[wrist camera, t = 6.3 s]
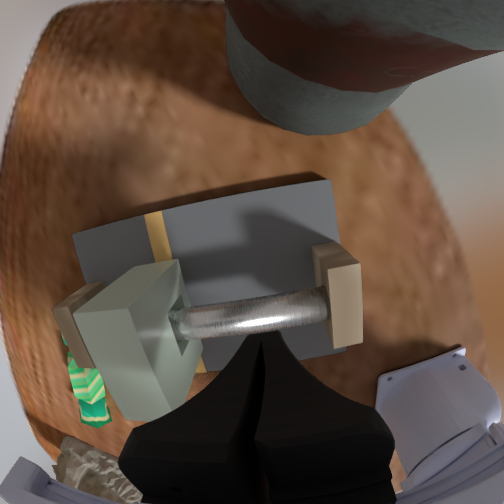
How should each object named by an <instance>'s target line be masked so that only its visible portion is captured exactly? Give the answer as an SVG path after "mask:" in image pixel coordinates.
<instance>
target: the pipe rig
mask: <svg viewBox="0 0 504 504" xmlns="http://www.w3.org/2000/svg"><path fill="white" fill-rule="evenodd" d="M72 238H73V241H74V245H75V249H76V253H77V256H78V260H79V263H80V267H81V270H82V273H83V277H84V280H85V283H86V285H85V286H83V287H82V288H80V289H79V290H77V291H76V292H74V293H73V294H71V295H70V296H68V297H67V298H66V299H64V300H63V301H61V302H60V303H58V304H57V305H56V306H54V307H53V308H51V309H52V311H53V314H54V316H55V319H56V321H57V324H58V326H59V328H60V331H61V333H62V335H63V338H64V340H65V342H66V344H67V346H68V348H69V350H70V353H71V355H72V357H73V359H74V361H75V363H76V365H77V367H78V368H91V369H95V368H96V366H95V364H94V362H93V360H92V358H91V356H90V354H89V351H88V349H87V347H86V345H85V343H84V340H83V338H82V336H81V334H80V331H79V329H78V326H77V324H76V322H75V319H74V317H73V313H74V312H75V311H76V310H78V309H79V308H80V307H81V306H83V305H84V304H85V303H87V302H88V301H89V300H90V299H92V298H93V297H94V296H96V295H97V294H98V293H99V292H101V291H102V290H103V289H105V288H106V287H107V286H109V285H110V284H111V283H113V282H114V281H115V280H117V279H118V278H119V277H121V276H122V275H123V274H125V273H126V272H127V271H129V270H130V269H132V268H133V267H134V266H140V265H145V264H151V263H157V262H162V261H168V260H173V259H178V261H179V265H180V269H181V273H182V276H183V280H184V284H185V288H186V291H187V295H188V298H189V302H190V305H191V307H183V308H175V309H170V310H169V312H168V313H167V315H168V318H169V321H170V324H171V327H172V330H173V333H174V336H175V339H176V341H184V340H195V339H201V342H202V345H203V351H202V354H201V357H200V360H199V363H198V366H197V369H196V372H195V373H204V372H207V371H220V370H223V369H224V367H225V366H226V365H227V364H228V362H229V361H230V360H231V358H232V357H233V356H234V354H235V353H236V351H237V350H238V349H239V347H240V346H241V344H242V342H243V341H244V339H245V338H246V336H247V335H248V334H256V333H263V332H270V331H276V330H279V331H280V332H281V333H282V337H283V339H284V341H285V343H286V344H287V346H288V348H289V349H290V350H291V352H292V353H293V354H294V356H295V357H296V358H297V360H298V361H299V360H305V359H310V358H316V357H321V356H326V355H331V354H336V353H341V352H345V351H347V346H350V345H354V344H359V343H363V306H362V282H361V266H360V262H359V261H357V260H356V259H355V258H354V257H353V256H352V255H351V254H350V253H349V252H347V251H346V250H345V249H344V248H343V247H342V246H341V245H340V242H339V234H338V225H337V218H336V210H335V203H334V196H333V190H332V183H331V179H325V180H318V181H311V182H304V183H298V184H291V185H285V186H279V187H273V188H267V189H262V190H256V191H251V192H245V193H240V194H235V195H230V196H224V197H219V198H215V199H210V200H205V201H200V202H195V203H191V204H186V205H182V206H177V207H173V208H169V209H164V210H160V211H156V212H152V213H148V214H144V215H140V216H136V217H132V218H128V219H124V220H120V221H116V222H113V223H109V224H105V225H102V226H98V227H94V228H91V229H87V230H84V231H81V232H77V233H75V234H72Z"/></svg>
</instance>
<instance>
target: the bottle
mask: <svg viewBox="0 0 504 504" xmlns="http://www.w3.org/2000/svg"><path fill="white" fill-rule="evenodd" d="M224 1H225V3H226V49H227V59H228V68H229V70H230V72H231V74H232V76H233V78H234V80H235V82H236V84H237V86H238V88H239V90H240V92H241V93H242V94H243V96H244V97H245V98H246V100H247V101H248V102H249V103H250V104H251V105H252V106H253V107H254V108H255V109H256V110H257V111H258V112H259V114H260V115H261V116H262V117H263V118H265V119H267V120H269V121H270V122H272V123H274V124H276V125H277V126H279V127H281V128H282V129H284V130H288V131H292V132H296V133H300V134H304V135H331V134H338V133H343V132H346V131H349V130H352V129H355V128H358V127H361V126H364V125H367V124H368V123H369V122H370V121H372V120H373V119H374V118H375V117H377V116H378V115H379V114H380V113H381V112H383V111H384V110H385V109H386V108H387V107H388V106H389V105H390V104H391V103H393V102H394V101H395V100H396V99H397V98H398V97H399V96H400V95H401V94H402V93H403V92H404V91H405V90H406V89H407V88H408V87H409V86H410V85H411V83H412V82H415V81H417V80H420V79H422V78H425V77H427V76H430V75H432V74H435V73H438V72H440V71H443V70H446V69H448V68H451V67H454V66H457V65H460V64H462V63H466V62H469V61H472V60H475V59H478V58H481V57H484V56H488V55H491V54H494V53H498V52H501V51H504V0H224Z"/></svg>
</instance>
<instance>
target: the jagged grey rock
mask: <svg viewBox="0 0 504 504" xmlns="http://www.w3.org/2000/svg"><path fill="white" fill-rule="evenodd" d="M60 449H61V452H62V454H60V455H59V457H58V458H57V463H58V464H57V465H52V467H53V469H54V472H55V474H56V480H57V481H59V482H61V483H63V484H66V485H68V486H71V487H73V488H76V489H78V490H81V491H84V492H86V493H89V494H92V495H95V496H98V497H101V498H104V499H107V500H111V501H114V502H118V503H121V504H129V503H132V502H138V503H140V501H141V499H142V496H143V494H142V493H141V492H140V491H139V490H138V489H137V488H136V487H135V486H134V485H133V484H132V483H131V482H130V481H129V480H128V479H127V478H126V477H125V476H124V474H123V473H122V472H121V470H120V469H119V466H118V463H117V462H118V459H119V458H118V457H115V456H113V455H111V454H107V453H106V452H104V451H101V450H100V449H98V448H96V447H93V446H91V445H89V444H87V443H85V442H83V441H81V440H79V439H77V438H74V437H70V436H66V437H64V438H63V441H62V444H61V447H60Z"/></svg>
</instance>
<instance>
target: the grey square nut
mask: <svg viewBox="0 0 504 504" xmlns="http://www.w3.org/2000/svg"><path fill="white" fill-rule="evenodd" d="M183 307H191V305H190V302H189V298H188V295H187V291H186V288H185V284H184V280H183V276H182V273H181V269H180V265H179V261H178V259H173V260H168V261H162V262H157V263H151V264H145V265H140V266H134V267H133V268H132V269H130V270H129V271H127V272H126V273H125V274H123V275H122V276H121V277H119V278H118V279H117V280H115V281H114V282H113V283H111V284H110V285H109V286H107V287H106V288H105V289H103V290H102V291H101V292H99V293H98V294H97V295H96V296H94V297H93V298H92V299H90V300H89V301H88V302H87V303H85V304H84V305H83V306H81V307H80V308H79V309H78V310H76V311H75V312H74V313H73V317H74V319H75V322H76V324H77V326H78V329H79V331H80V334H81V336H82V338H83V340H84V343H85V345H86V347H87V349H88V351H89V354H90V356H91V358H92V360H93V362H94V364H95V366H96V368H97V370H98V372H99V374H100V376H101V378H102V379H103V381H104V383H105V385H106V387H107V389H108V390H109V392H110V394H111V396H112V397H113V399H114V401H115V403H116V404H117V406H118V408H119V409H120V411H121V413H122V414H123V416H124V417H125V419H126V420H134V421H146V422H151V421H153V420H155V419H157V418H160V417H162V416H164V415H165V414H167V413H169V412H171V411H173V410H175V409H176V408H178V407H179V406H181V405H183V404H184V403H185V401H186V398H187V395H188V392H189V389H190V386H191V383H192V380H193V377H194V375H195V372H196V369H197V366H198V363H199V360H200V357H201V354H202V351H203V345H202V342H201V339H195V340H184V341H176V339H175V336H174V333H173V330H172V327H171V324H170V321H169V318H168V315H167V313H168V312H169V310H170V309H175V308H183Z"/></svg>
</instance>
